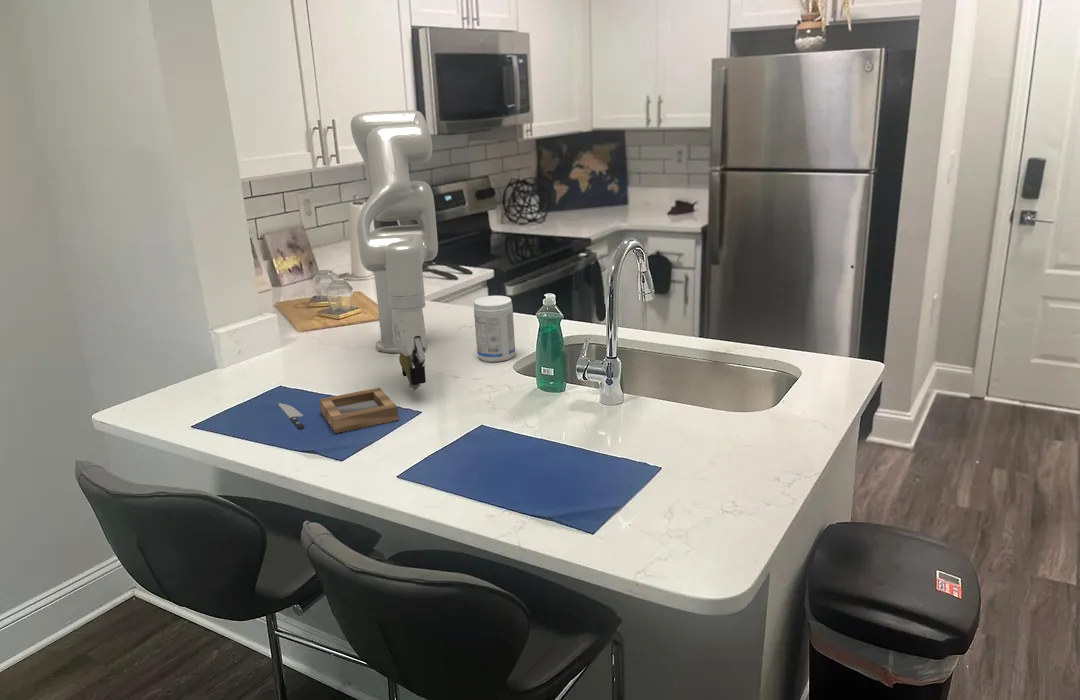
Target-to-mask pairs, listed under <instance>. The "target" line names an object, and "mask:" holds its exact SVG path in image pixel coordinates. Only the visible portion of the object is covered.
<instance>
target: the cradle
mask: <svg viewBox="0 0 1080 700" xmlns="http://www.w3.org/2000/svg"><path fill="white" fill-rule="evenodd" d="M319 407H320V412H321V414H322V416H323V417H324V419H325V421H326V422H327V421H328V422H327V424H328V425H329V424H330V425H329V426H330V427H332V428H331V430H332V431H333V430H334V431H333V432H334V434H335V433H337V434H340V433H339V432H342V433H346V432H345V431H347V432H350V431H349V430H351V431H355V430H354V429H356V430H360V428H361V429H364V427H365V428H369V426H370V427H374V426H373V425H375V426H378V425H377V424H379V425H382V423H384V424H388V423H391V422H392V421H393V422H397V421H396V420H398V421H399V420H400V419H399V409H398V405H397V404H395V403H394V401H393V400H392V399H391V398H390V397H389V396H388V395H387V394H386V393H385V392H384V390H383V389H382V388H381V387H376V388H375V387H374V388H370V389H365V390H360V391H354V392H350V393H344V394H340V395H339V394H338V395H334V396H328V397H323V398H320V399H319ZM393 422H392V423H393Z"/></svg>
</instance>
